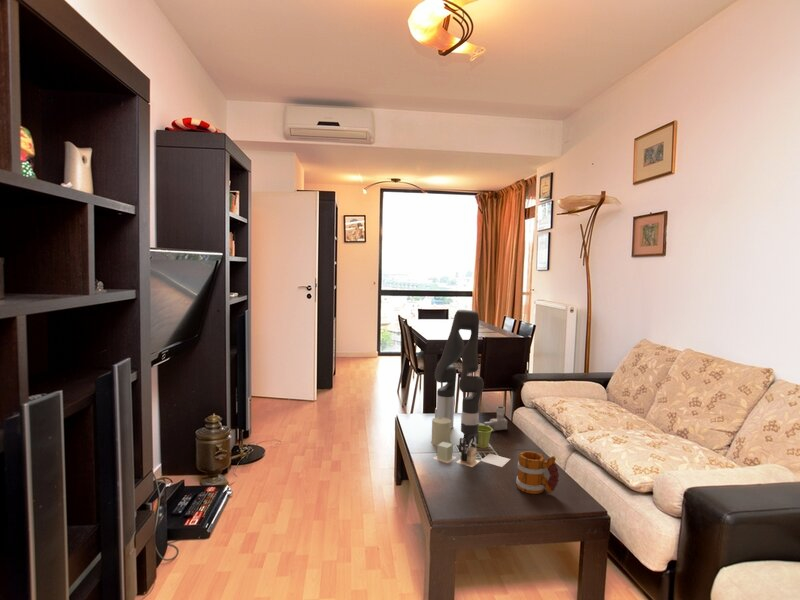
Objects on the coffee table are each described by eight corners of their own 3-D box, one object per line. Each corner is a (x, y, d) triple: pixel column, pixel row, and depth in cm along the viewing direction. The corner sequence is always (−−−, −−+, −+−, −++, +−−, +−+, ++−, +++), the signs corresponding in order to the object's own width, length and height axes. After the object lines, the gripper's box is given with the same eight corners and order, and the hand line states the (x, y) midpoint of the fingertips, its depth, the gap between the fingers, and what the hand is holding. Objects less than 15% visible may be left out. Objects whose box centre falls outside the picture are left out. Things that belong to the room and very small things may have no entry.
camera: (510, 409, 234) (483, 411, 231) (509, 431, 235) (483, 433, 232) (502, 404, 243) (476, 406, 239) (501, 425, 244) (476, 427, 240)
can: (446, 439, 221) (447, 415, 220) (453, 446, 212) (454, 421, 212) (428, 440, 219) (429, 416, 218) (434, 447, 210) (435, 423, 209)
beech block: (460, 461, 195) (460, 448, 194) (465, 458, 199) (466, 445, 198) (470, 465, 192) (471, 451, 191) (475, 461, 196) (476, 447, 196)
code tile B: (432, 459, 197) (432, 458, 197) (441, 453, 204) (441, 452, 204) (448, 463, 193) (448, 463, 193) (456, 457, 200) (456, 457, 200)
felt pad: (480, 461, 196) (480, 460, 196) (489, 454, 205) (489, 453, 204) (501, 467, 191) (501, 466, 191) (510, 460, 199) (510, 459, 199)
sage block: (437, 458, 198) (437, 445, 197) (442, 454, 202) (443, 441, 202) (447, 461, 195) (447, 447, 195) (452, 457, 199) (452, 444, 199)
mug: (522, 478, 182) (523, 442, 181) (562, 491, 171) (564, 454, 170) (510, 487, 173) (512, 450, 172) (552, 502, 163) (554, 462, 162)
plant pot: (490, 442, 218) (491, 425, 218) (492, 450, 209) (493, 432, 208) (471, 441, 219) (472, 424, 219) (472, 449, 210) (473, 431, 209)
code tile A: (455, 462, 194) (455, 462, 194) (463, 456, 201) (463, 456, 201) (472, 467, 190) (472, 467, 190) (480, 461, 196) (480, 460, 196)
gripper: (469, 415, 202) (467, 450, 203) (454, 423, 190) (453, 460, 191) (484, 419, 198) (483, 454, 199) (470, 427, 186) (469, 465, 187)
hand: (468, 457), depth 195 cm, fingers open, 8 cm apart
